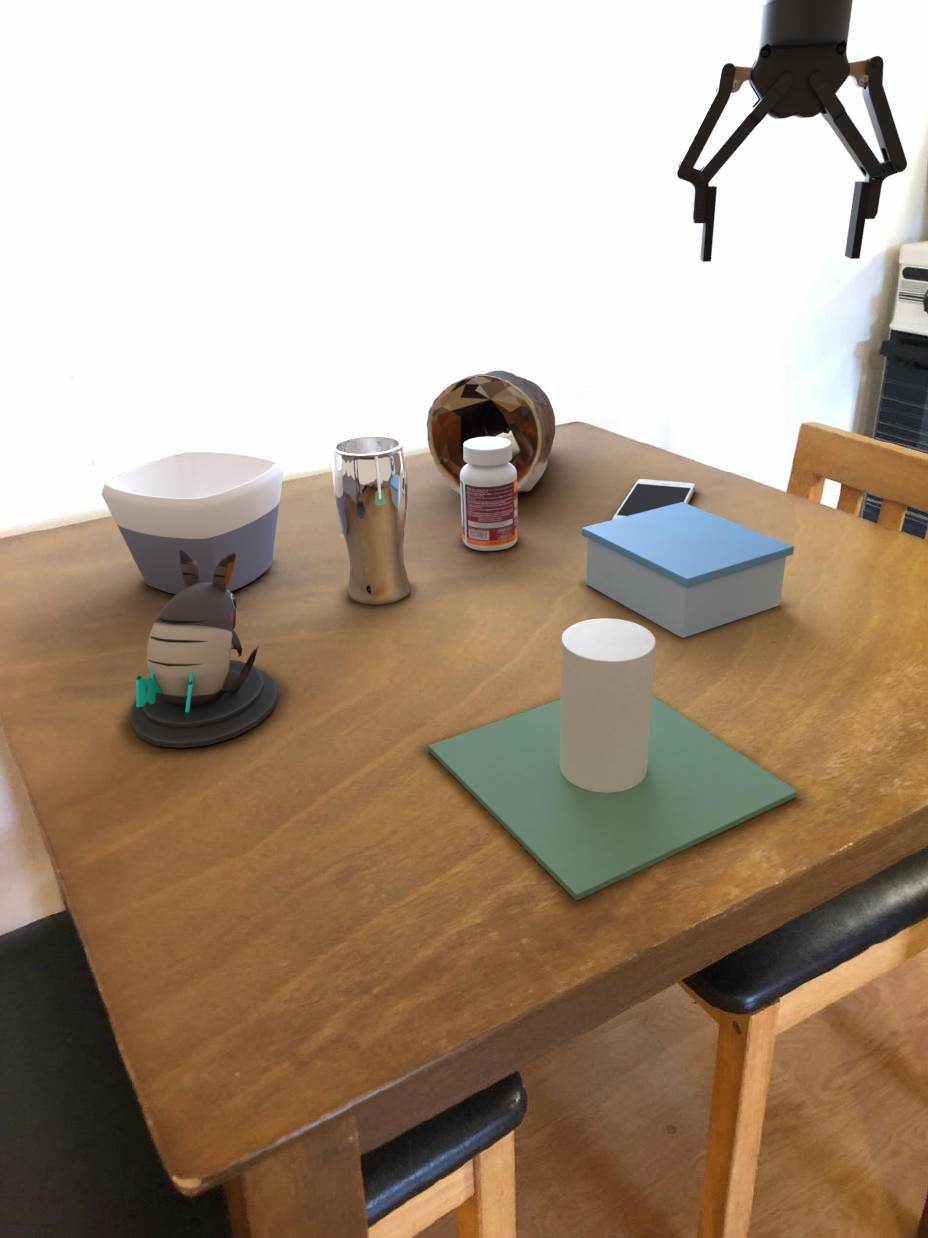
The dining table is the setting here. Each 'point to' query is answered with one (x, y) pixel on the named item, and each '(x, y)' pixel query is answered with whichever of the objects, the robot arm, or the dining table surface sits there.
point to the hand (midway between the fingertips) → (778, 259)
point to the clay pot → (492, 423)
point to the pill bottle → (488, 494)
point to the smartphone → (654, 496)
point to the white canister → (606, 703)
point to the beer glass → (373, 515)
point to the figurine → (199, 668)
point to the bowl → (198, 515)
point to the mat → (608, 795)
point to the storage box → (685, 567)
